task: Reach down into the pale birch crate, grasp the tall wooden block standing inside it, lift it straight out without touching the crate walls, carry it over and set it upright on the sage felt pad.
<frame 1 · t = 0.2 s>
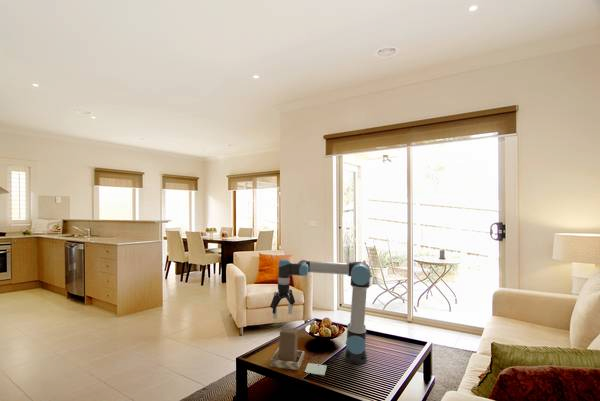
hand: (282, 316, 215), 27 cm above the table, fingers open, 13 cm apart
wooden block: (287, 361, 210), resting in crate
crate: (287, 361, 210), on the table
pad: (315, 369, 202), on the table
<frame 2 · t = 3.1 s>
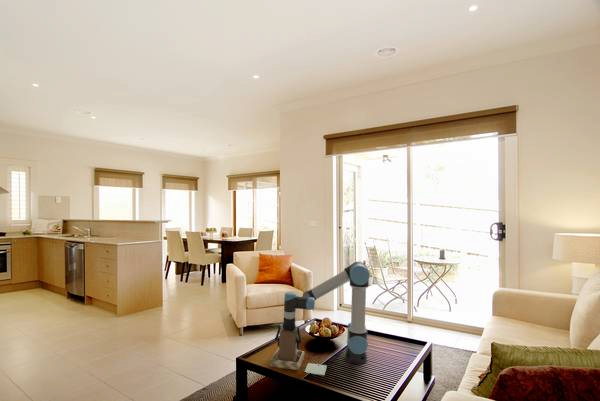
hand: (288, 352, 211), 6 cm above the table, fingers closed on wooden block, 10 cm apart
wooden block: (287, 361, 210), resting in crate, touching gripper
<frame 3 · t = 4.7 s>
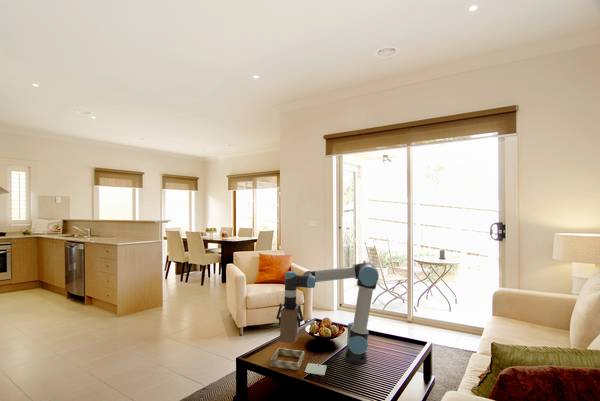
hand: (289, 331, 211), 19 cm above the table, fingers closed on wooden block, 10 cm apart
wooden block: (289, 340, 211), point 13 cm above the table, touching gripper
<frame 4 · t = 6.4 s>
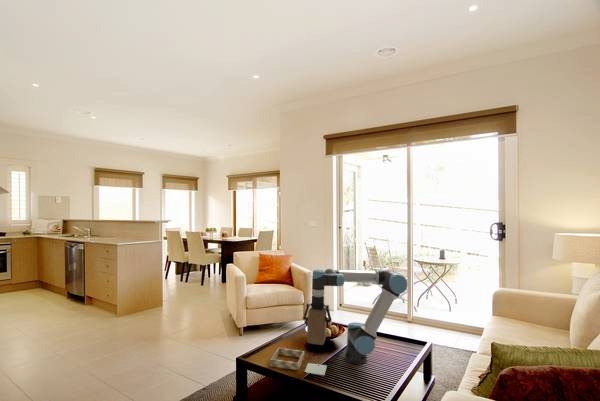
hand: (316, 332, 202), 22 cm above the table, fingers closed on wooden block, 10 cm apart
wooden block: (316, 341, 202), point 17 cm above the table, touching gripper
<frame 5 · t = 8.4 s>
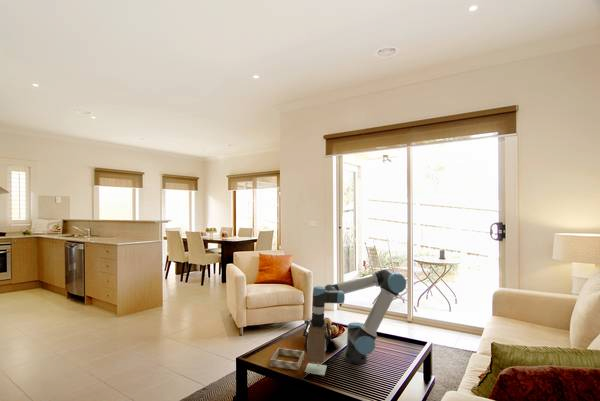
hand: (316, 349, 202), 12 cm above the table, fingers closed on wooden block, 10 cm apart
wooden block: (316, 359, 202), point 6 cm above the table, touching gripper
when the fingers open (7 cm above the table, at t = 10.0 s): wooden block drops 1 cm, resting on pad.
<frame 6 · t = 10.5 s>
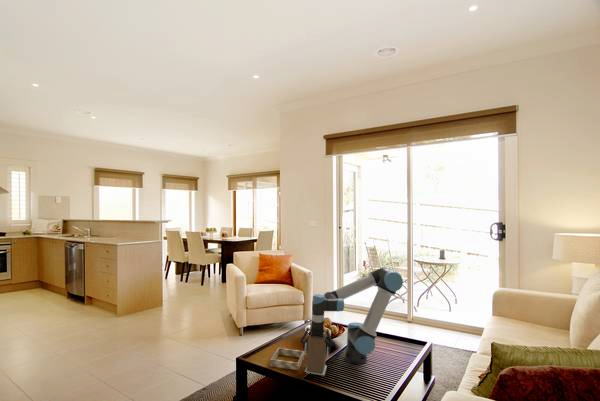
hand: (316, 355, 202), 8 cm above the table, fingers open, 13 cm apart
wooden block: (316, 369, 202), resting on pad
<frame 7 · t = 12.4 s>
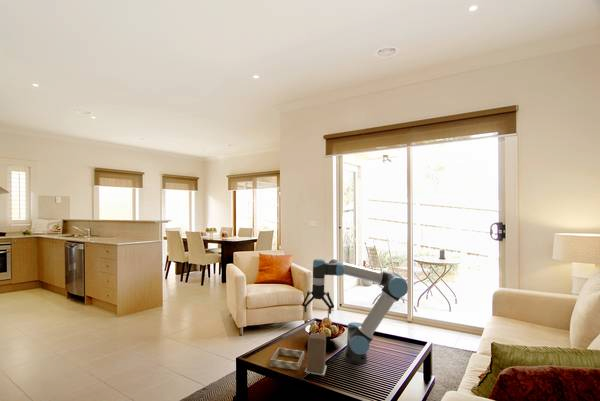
hand: (317, 318, 208), 29 cm above the table, fingers open, 13 cm apart
nothing on the table moved.
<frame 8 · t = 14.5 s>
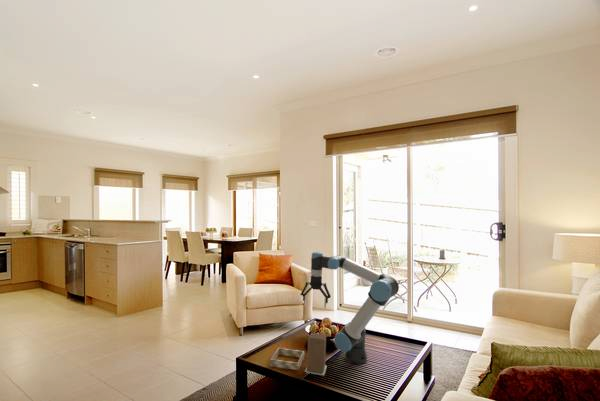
hand: (315, 307, 223), 32 cm above the table, fingers open, 13 cm apart
nothing on the table moved.
at the end: wooden block inside the target area on the pad (0.1 cm from its centre), point 0.2 cm above the pad's base; wooden block tilted 0°; wooden block touching pad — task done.
